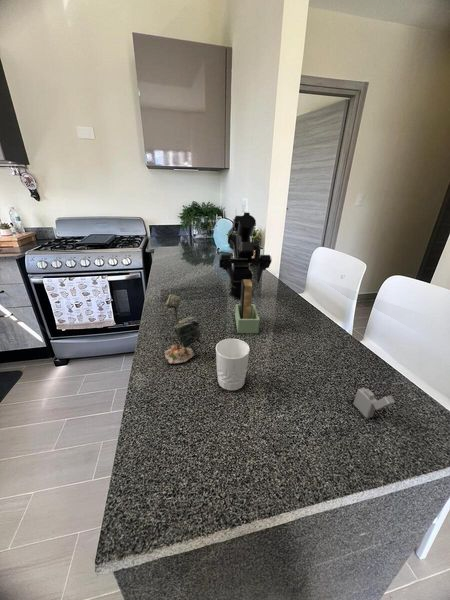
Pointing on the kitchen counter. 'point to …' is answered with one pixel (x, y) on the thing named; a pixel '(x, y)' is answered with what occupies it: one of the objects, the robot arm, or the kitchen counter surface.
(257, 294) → the kitchen counter surface
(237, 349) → the white cup
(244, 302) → the eraser
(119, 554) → the kitchen counter surface
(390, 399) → the grey angled bracket
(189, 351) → the plant with pod
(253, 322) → the holder
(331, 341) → the kitchen counter surface
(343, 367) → the kitchen counter surface
